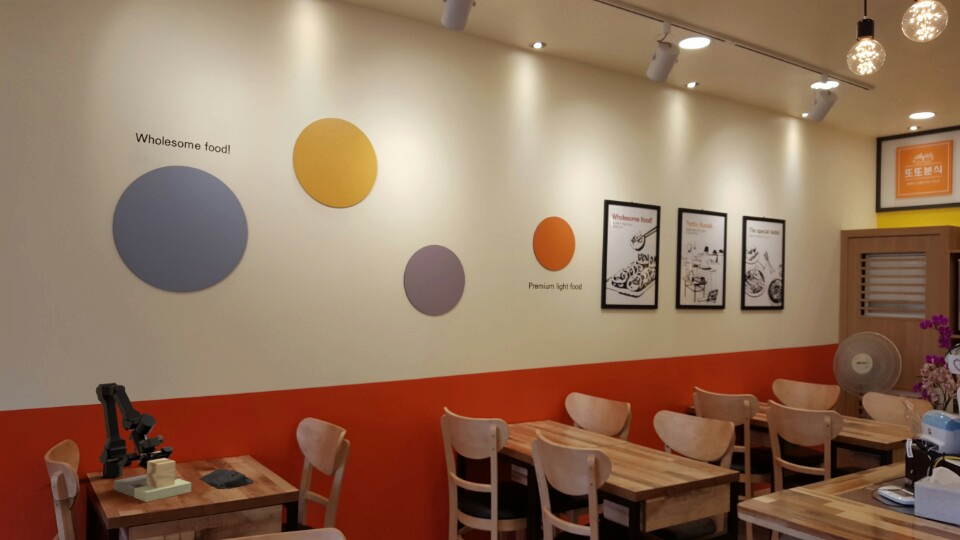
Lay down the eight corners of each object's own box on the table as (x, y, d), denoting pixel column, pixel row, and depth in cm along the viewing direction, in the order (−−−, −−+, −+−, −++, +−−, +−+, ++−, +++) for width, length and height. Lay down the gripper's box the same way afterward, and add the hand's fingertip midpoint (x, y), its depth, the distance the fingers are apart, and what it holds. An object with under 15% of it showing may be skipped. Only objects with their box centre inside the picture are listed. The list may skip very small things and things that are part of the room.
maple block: (146, 484, 276) (147, 461, 276) (163, 480, 282) (164, 457, 282) (157, 488, 271) (158, 464, 272) (174, 484, 277) (175, 461, 277)
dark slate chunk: (232, 474, 309) (232, 463, 309) (256, 484, 293) (256, 472, 293) (197, 480, 298) (197, 468, 298) (220, 491, 282) (220, 479, 283)
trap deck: (113, 489, 280) (114, 480, 280) (157, 480, 295) (157, 471, 295) (146, 502, 265) (146, 492, 265) (191, 491, 280) (191, 482, 280)
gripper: (125, 433, 275) (139, 466, 268) (171, 426, 290) (185, 457, 283) (115, 450, 280) (128, 483, 273) (160, 442, 295) (174, 474, 288)
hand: (155, 474), depth 279 cm, fingers closed
